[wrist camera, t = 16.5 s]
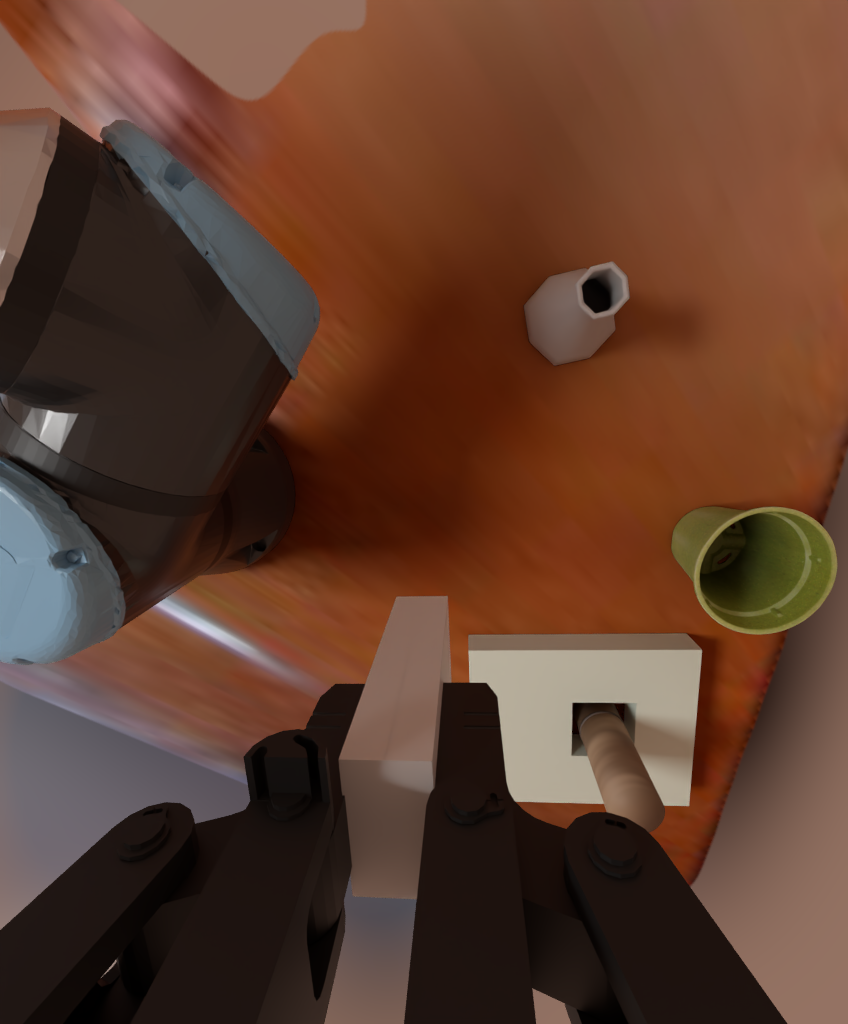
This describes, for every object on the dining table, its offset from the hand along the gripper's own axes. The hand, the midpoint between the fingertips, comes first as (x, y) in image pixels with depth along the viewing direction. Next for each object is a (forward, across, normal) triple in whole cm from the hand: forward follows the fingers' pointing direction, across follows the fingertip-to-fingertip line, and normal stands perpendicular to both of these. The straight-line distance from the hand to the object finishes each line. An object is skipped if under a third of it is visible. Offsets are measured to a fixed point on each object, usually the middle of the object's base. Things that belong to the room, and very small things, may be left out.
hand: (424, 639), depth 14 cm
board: (+29, +11, -23) cm, 39 cm away
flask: (+30, +10, +13) cm, 34 cm away
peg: (+29, +13, -23) cm, 39 cm away
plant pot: (+30, +22, -6) cm, 37 cm away
